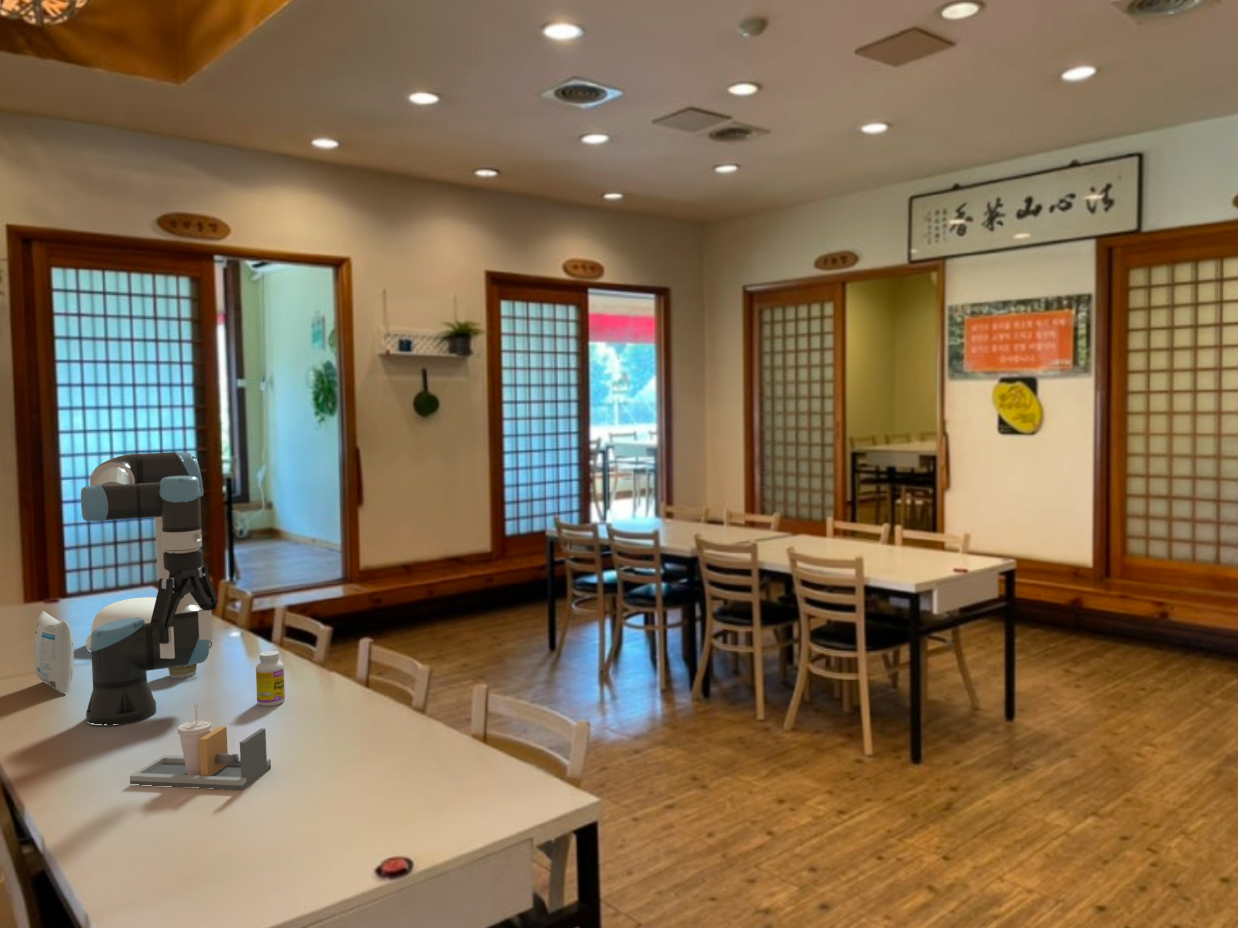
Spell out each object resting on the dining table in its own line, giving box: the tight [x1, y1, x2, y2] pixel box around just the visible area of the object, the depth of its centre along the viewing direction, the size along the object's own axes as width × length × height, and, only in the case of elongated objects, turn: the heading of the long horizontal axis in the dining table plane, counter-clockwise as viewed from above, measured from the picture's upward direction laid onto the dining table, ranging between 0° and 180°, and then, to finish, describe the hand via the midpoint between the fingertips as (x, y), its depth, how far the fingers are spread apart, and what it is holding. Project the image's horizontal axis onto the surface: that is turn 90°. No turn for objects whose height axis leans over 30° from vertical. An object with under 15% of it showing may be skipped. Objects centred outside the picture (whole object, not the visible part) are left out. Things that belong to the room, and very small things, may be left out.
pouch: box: [33, 610, 75, 694], centre depth 250 cm, size 8×19×20 cm, turn 43°
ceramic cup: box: [167, 640, 213, 679], centre depth 261 cm, size 13×10×10 cm
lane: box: [129, 728, 272, 791], centre depth 187 cm, size 24×11×9 cm, turn 82°
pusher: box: [199, 725, 240, 776], centre depth 187 cm, size 6×7×8 cm
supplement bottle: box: [255, 650, 286, 707], centre depth 234 cm, size 7×7×13 cm
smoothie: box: [177, 702, 213, 775], centre depth 187 cm, size 6×6×14 cm
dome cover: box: [85, 596, 156, 650], centre depth 299 cm, size 32×30×14 cm
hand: (187, 648), depth 196 cm, fingers open, 13 cm apart
